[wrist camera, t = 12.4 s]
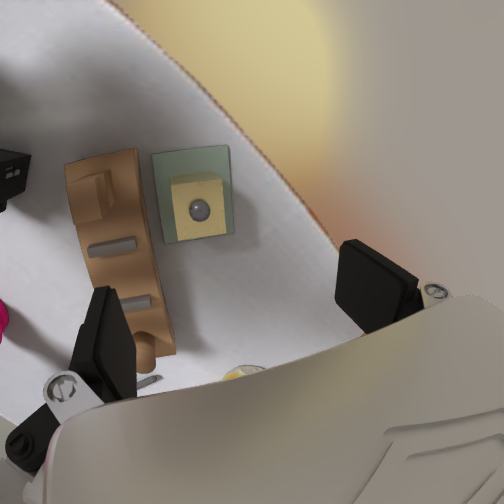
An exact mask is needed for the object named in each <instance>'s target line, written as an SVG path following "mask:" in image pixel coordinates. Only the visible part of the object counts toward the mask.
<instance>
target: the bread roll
mask: <svg viewBox="0 0 504 504" xmlns="http://www.w3.org/2000/svg"><path fill="white" fill-rule="evenodd" d="M261 370H264V369H262V368H261V367H255V366H249V365H246V366H239V367H236V368H235V369H233V370H231V371H230V372H228V373H227V374H226V375H225V376H224V378H223V379H222V380H226V379H230V378H234V377H238V376H242V375H246V374H250V373H254V372H257V371H261Z"/></svg>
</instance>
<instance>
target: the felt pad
mask: <svg viewBox="0 0 504 504" xmlns="http://www.w3.org/2000/svg"><path fill="white" fill-rule="evenodd" d="M152 161H153V169H154V177H155V185H156V192H157V199H158V206H159V212H160V218H161V225H162V230H163V236H164V242H165V244H171V243H177V242H183V241H189V240H195V239H201V238H207V237H213V236H219V235H225V234H231V233H234V222H233V210H232V197H231V184H230V170H229V157H228V145H221V146H211V147H202V148H194V149H186V150H178V151H171V152H165V153H158V154H152ZM207 171H212V172H214V173H215V174H216V175H218V176H219V177H220V178H222V185H223V199H224V211H225V223H226V233H225V234H218V235H212V236H205V237H199V238H193V239H186V240H180V241H178V236H177V229H176V223H175V215H174V208H173V200H172V192H171V182H170V176H177V175H184V174H191V173H199V172H207Z"/></svg>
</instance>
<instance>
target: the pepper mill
mask: <svg viewBox="0 0 504 504" xmlns="http://www.w3.org/2000/svg"><path fill="white" fill-rule="evenodd" d="M8 321H9V317H8V312H7V310H6V308H5V306H4V304H3V303H2V301H1V300H0V344H1V341H2V333H3V331H4V330H5V328H6V326H7V325H8Z"/></svg>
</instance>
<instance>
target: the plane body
mask: <svg viewBox="0 0 504 504" xmlns="http://www.w3.org/2000/svg"><path fill="white" fill-rule="evenodd" d="M64 169H65V176H66V182H67V186H66V189H67V194H68V200H69V205H70V209H71V214H72V218H73V223H74V225H75V226H76V230H77V234H78V238H79V242H80V246H81V249H82V253H83V256H84V260H85V263H86V266H87V269H88V273H89V276H90V279H91V282H92V285H93V288H94V289H95V288H96V287H102V286H107V285H109V286H110V287H111V289H112V288H115V289H116V291H117V294H118V297H119V300H120V303H121V306H122V309H123V312H124V315H125V318H126V320H127V323H128V326H129V328H130V331H131V333H132V336H133V339H134V341H135V344H136V350H137V355H136V372H137V373H141V374H146V373H150V372H152V371H153V370H154V369H155V367H156V359H155V358H156V357H163V356H169V355H175V354H176V349H175V340H174V333H173V329H172V326H171V322H170V319H169V315H168V311H167V307H166V303H165V300H164V296H163V292H162V287H161V283H160V279H159V275H158V270H157V266H156V261H155V256H154V252H153V247H152V242H151V237H150V231H149V226H148V220H147V215H146V209H145V203H144V196H143V190H142V183H141V175H140V168H139V160H138V151H137V148H133V149H128V150H123V151H118V152H113V153H109V154H104V155H100V156H96V157H91V158H87V159H83V160H80V161H76V162H72V163H69V164H66V165H64Z"/></svg>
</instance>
